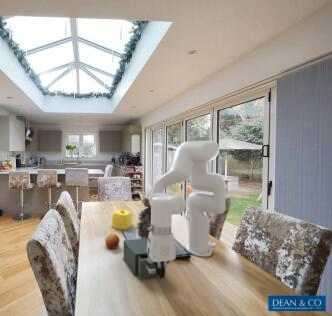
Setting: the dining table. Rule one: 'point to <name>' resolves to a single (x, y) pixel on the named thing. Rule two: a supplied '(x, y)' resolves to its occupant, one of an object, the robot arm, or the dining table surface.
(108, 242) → the fruit
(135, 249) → the cabinet
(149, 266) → the drawer
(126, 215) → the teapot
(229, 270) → the dining table surface
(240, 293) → the dining table surface
